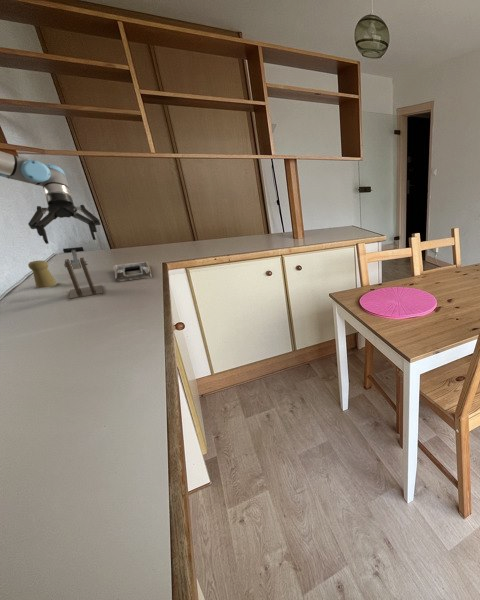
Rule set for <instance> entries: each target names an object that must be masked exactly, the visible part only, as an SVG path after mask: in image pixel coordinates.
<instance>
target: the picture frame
mask: <svg viewBox="0 0 480 600" xmlns="http://www.w3.org/2000/svg"><path fill="white" fill-rule="evenodd" d="M112 267H113V268H112V269H113V271H114V275H115V276H114V278H115V279H116V282H124V281H130V280H131V281H132V280H138V279H145V278H148V279H151V278H152V270H151V267H150V263H149V262H148V261H139V262H131V263H121V264H115V265H113V266H112ZM137 269H139V270H140V273H139V272H138V273H134V274H126V271H129V270H137ZM143 270H144V272H145V274H144V272H143ZM121 273H122V276H123V277H118V274H121Z"/></svg>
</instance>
